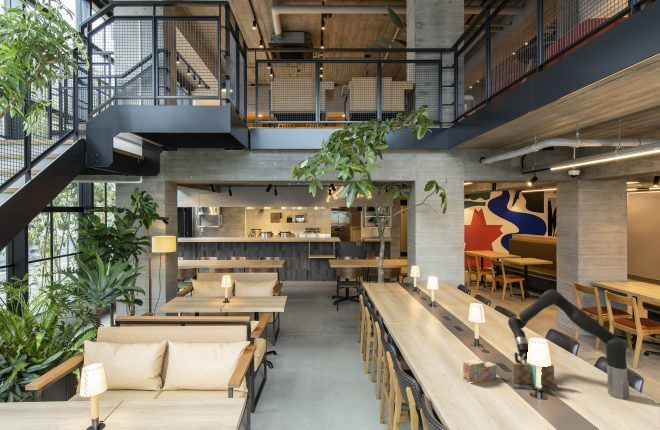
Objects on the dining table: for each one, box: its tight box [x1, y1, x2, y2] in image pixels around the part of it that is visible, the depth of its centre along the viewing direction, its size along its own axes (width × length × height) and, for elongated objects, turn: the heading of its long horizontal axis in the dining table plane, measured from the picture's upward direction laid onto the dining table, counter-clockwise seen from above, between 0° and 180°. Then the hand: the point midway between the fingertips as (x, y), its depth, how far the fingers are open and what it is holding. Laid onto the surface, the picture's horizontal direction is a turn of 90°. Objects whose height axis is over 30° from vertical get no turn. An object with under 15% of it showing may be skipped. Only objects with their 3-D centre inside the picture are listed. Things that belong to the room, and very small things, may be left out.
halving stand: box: [506, 362, 561, 392], centre depth 231 cm, size 27×12×13 cm, turn 82°
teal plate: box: [523, 359, 542, 387], centre depth 231 cm, size 20×2×12 cm, turn 172°
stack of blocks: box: [462, 358, 497, 383], centre depth 240 cm, size 21×6×12 cm, turn 108°
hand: (529, 369), depth 235 cm, fingers open, 8 cm apart
